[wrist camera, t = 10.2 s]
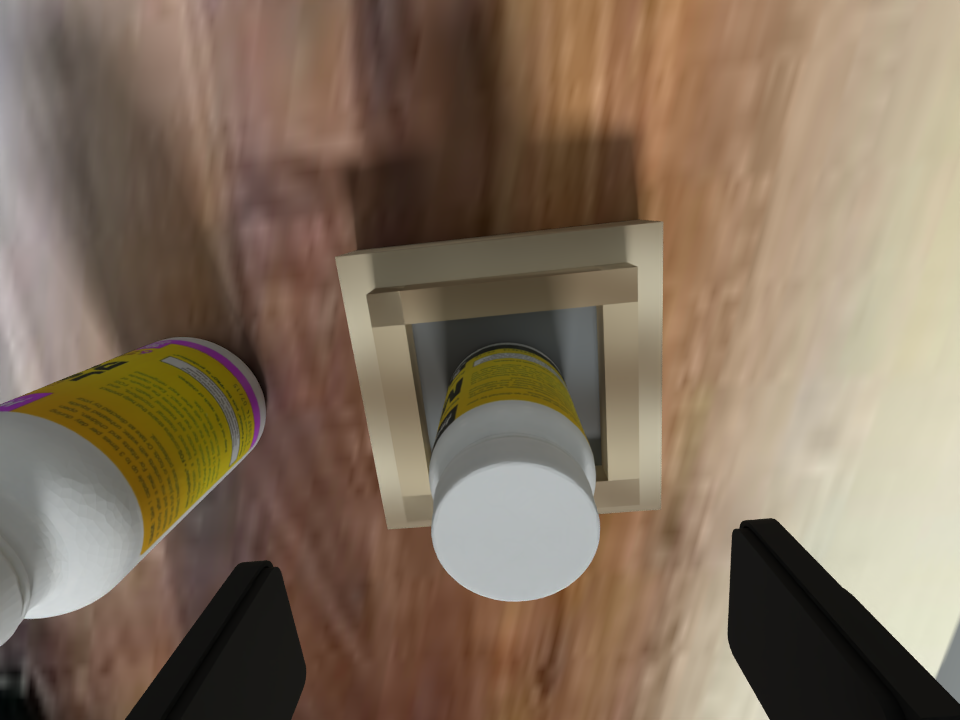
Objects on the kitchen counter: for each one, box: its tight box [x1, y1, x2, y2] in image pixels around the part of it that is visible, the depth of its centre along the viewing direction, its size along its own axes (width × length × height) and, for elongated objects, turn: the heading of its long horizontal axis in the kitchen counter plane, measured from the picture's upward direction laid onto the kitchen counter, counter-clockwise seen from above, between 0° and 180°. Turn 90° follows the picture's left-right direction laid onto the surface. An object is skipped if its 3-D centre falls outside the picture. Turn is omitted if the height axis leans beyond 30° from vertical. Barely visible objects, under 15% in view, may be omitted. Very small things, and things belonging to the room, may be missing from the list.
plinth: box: [335, 220, 663, 529], centre depth 20 cm, size 12×12×4 cm
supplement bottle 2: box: [429, 343, 600, 601], centre depth 15 cm, size 5×5×8 cm
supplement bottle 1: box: [0, 337, 266, 646], centre depth 17 cm, size 7×7×13 cm
